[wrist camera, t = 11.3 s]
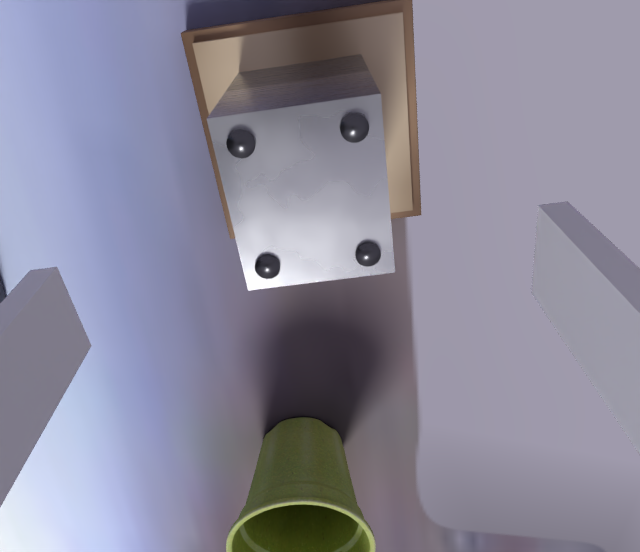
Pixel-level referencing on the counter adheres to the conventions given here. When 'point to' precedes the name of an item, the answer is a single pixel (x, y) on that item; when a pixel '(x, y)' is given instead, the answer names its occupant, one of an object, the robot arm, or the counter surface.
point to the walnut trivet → (313, 45)
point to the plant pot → (301, 495)
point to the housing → (305, 172)
